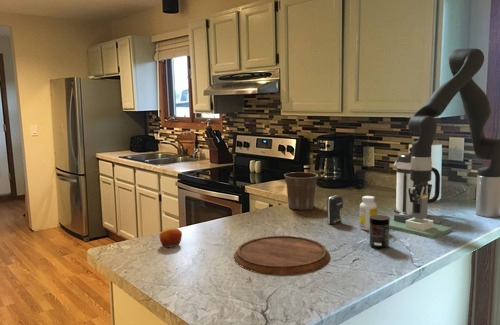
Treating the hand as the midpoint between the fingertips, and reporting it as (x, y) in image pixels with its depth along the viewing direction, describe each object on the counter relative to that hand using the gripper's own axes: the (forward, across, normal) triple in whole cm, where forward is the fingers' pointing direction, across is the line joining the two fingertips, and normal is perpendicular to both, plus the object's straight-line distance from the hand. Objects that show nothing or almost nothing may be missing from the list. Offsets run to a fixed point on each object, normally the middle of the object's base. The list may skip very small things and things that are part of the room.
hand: (419, 211), depth 165 cm
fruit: (+8, +80, -52) cm, 96 cm away
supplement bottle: (+8, +12, -15) cm, 21 cm away
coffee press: (+8, -20, -14) cm, 26 cm away
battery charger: (+8, +15, -29) cm, 34 cm away
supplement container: (+8, +27, 0) cm, 28 cm away
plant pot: (+8, +5, -58) cm, 59 cm away
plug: (+2, 0, 0) cm, 2 cm away
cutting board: (+8, +58, -17) cm, 61 cm away
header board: (+7, -1, -2) cm, 8 cm away
